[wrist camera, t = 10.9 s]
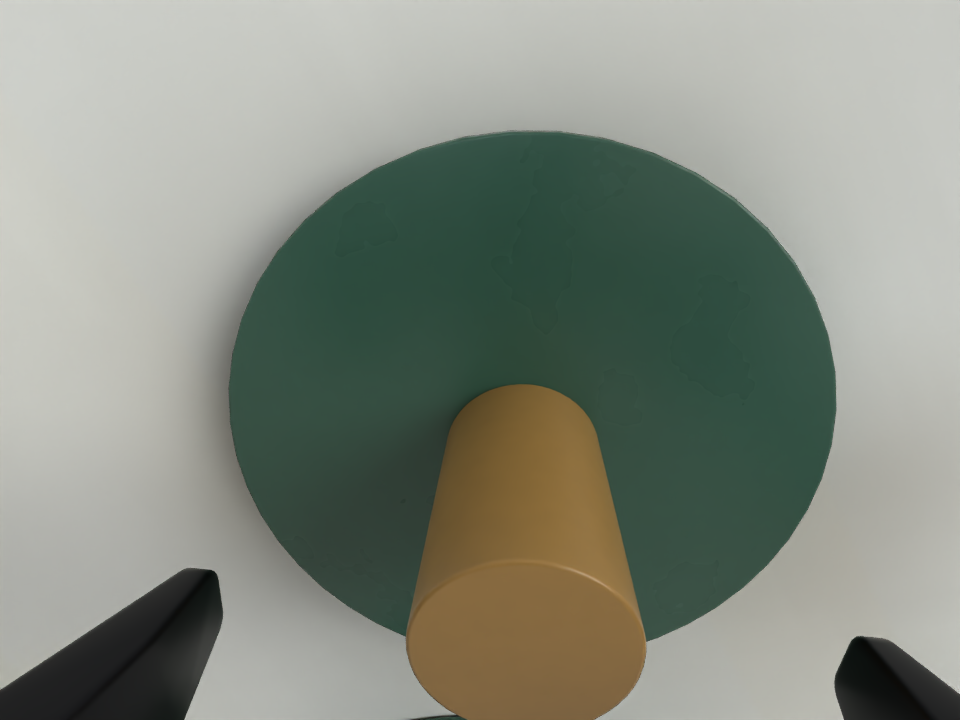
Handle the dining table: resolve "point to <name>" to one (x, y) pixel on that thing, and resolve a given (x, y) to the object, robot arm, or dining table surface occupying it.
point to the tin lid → (532, 410)
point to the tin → (446, 718)
